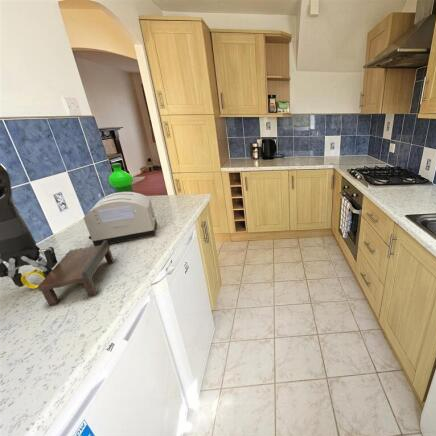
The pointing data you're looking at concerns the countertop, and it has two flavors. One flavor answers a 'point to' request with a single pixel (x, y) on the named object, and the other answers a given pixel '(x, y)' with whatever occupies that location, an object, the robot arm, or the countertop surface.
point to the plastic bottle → (120, 179)
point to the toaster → (121, 218)
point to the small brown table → (76, 271)
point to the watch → (29, 272)
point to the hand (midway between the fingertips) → (36, 282)
